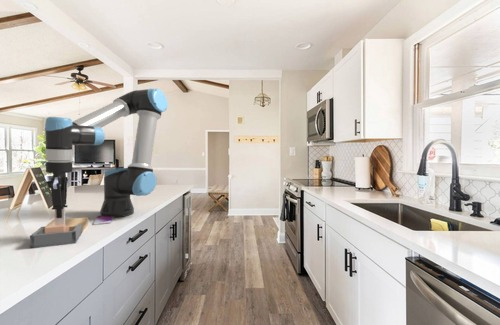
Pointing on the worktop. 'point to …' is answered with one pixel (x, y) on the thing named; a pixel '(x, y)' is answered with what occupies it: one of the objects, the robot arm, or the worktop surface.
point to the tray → (54, 237)
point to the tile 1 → (55, 229)
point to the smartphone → (102, 220)
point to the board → (73, 223)
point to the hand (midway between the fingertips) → (60, 226)
